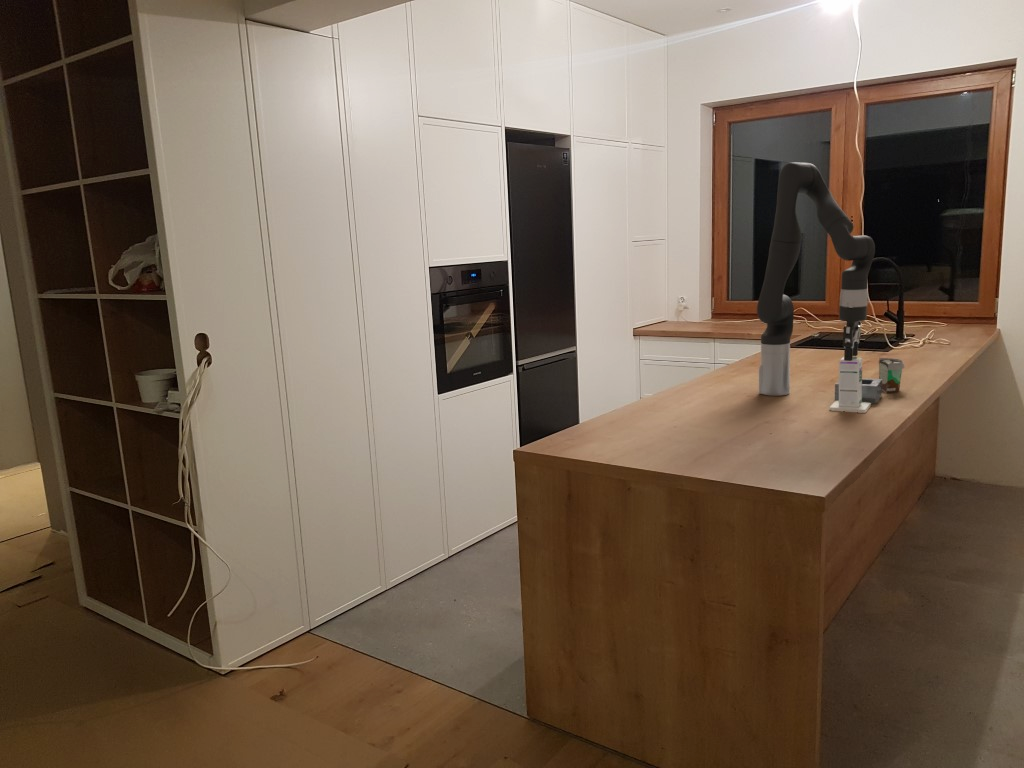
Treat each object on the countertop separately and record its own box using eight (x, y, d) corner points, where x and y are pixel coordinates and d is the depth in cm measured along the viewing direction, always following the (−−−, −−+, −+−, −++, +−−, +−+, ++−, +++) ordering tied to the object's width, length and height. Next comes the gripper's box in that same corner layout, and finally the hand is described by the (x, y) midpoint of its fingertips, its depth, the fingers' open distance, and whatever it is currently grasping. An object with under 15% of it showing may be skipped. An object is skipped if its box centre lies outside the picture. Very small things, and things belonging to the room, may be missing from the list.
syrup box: (858, 407, 228) (860, 359, 225) (837, 406, 231) (838, 359, 228) (861, 403, 232) (863, 356, 230) (841, 402, 236) (842, 356, 233)
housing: (834, 401, 242) (835, 384, 241) (841, 393, 252) (842, 377, 251) (875, 403, 236) (876, 386, 235) (881, 395, 245) (882, 379, 244)
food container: (908, 394, 246) (909, 363, 244) (887, 394, 247) (888, 364, 245) (897, 386, 258) (898, 357, 256) (877, 386, 259) (878, 357, 257)
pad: (829, 410, 231) (829, 407, 230) (835, 403, 239) (835, 400, 239) (865, 413, 225) (865, 409, 225) (870, 405, 233) (870, 402, 233)
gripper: (844, 301, 234) (842, 353, 237) (835, 306, 222) (832, 361, 225) (871, 302, 229) (868, 355, 233) (862, 307, 218) (860, 363, 221)
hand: (850, 358), depth 229 cm, fingers open, 8 cm apart
